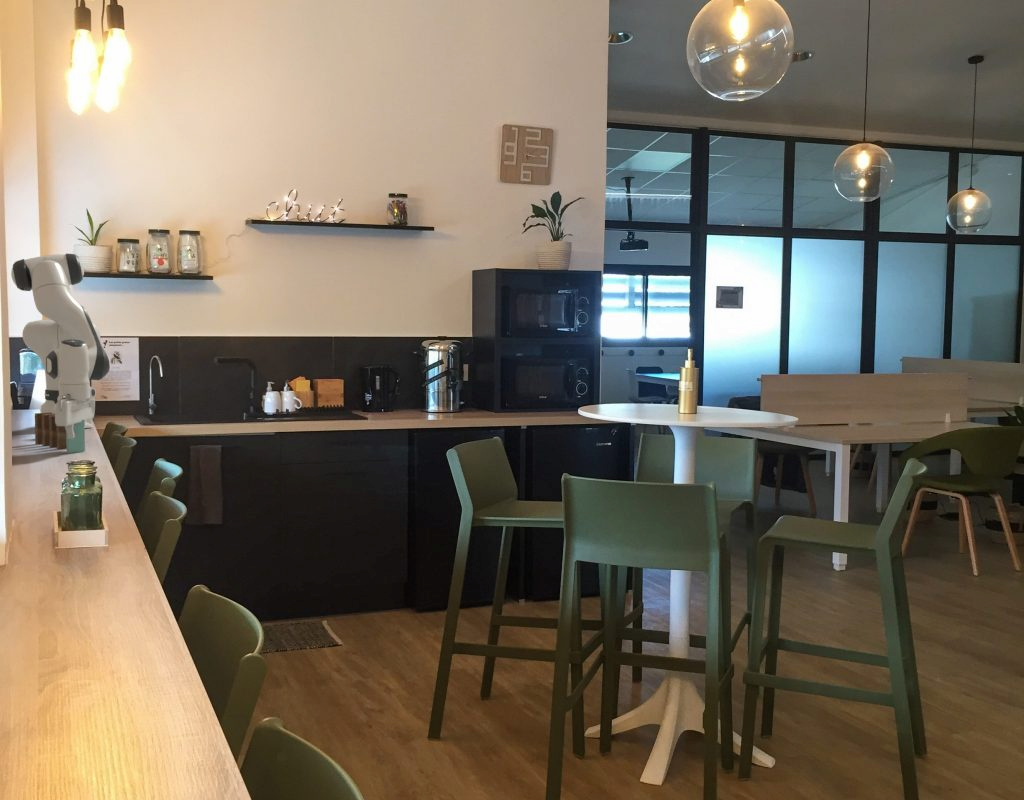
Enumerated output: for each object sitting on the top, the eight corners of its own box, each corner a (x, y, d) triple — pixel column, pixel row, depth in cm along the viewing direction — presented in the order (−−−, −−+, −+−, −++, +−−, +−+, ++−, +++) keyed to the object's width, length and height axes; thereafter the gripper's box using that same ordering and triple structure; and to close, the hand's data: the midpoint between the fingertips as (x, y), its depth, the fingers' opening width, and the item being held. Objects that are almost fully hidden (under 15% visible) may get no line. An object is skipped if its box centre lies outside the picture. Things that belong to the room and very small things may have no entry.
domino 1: (35, 444, 329) (34, 413, 328) (50, 442, 333) (49, 412, 332) (37, 444, 328) (37, 413, 327) (52, 443, 332) (52, 412, 331)
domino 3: (49, 447, 323) (48, 415, 322) (64, 445, 327) (64, 414, 326) (52, 447, 322) (51, 416, 321) (67, 446, 326) (66, 415, 325)
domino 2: (42, 445, 326) (41, 414, 325) (57, 444, 330) (56, 413, 329) (45, 446, 325) (44, 415, 324) (60, 444, 329) (59, 413, 328)
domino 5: (66, 452, 313) (65, 420, 312) (82, 450, 317) (81, 419, 316) (69, 453, 312) (68, 420, 311) (84, 451, 316) (84, 419, 315)
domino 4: (57, 448, 321) (56, 417, 320) (72, 447, 324) (71, 415, 323) (59, 449, 320) (58, 417, 319) (74, 447, 323) (74, 416, 322)
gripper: (69, 396, 302) (70, 442, 304) (98, 389, 323) (99, 433, 324) (48, 395, 302) (49, 441, 304) (78, 389, 323) (79, 432, 324)
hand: (75, 437), depth 314 cm, fingers closed on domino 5, 4 cm apart
